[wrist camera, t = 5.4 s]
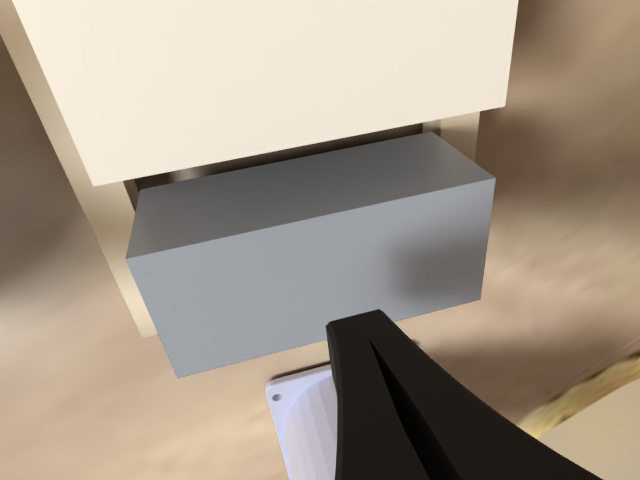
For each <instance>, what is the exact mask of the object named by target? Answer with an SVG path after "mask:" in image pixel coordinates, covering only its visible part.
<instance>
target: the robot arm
mask: <svg viewBox="0 0 640 480" xmlns="http://www.w3.org/2000/svg"><path fill="white" fill-rule="evenodd" d="M325 327H326V334H327V341H328V348H329V356H330V363H331V364H329V365H325V366H322V367H318V368H314V369H311V370H307V371H303V372H299V373H296V374H292V375H288V376H284V377H281V378H277V379H273V380H271V381H269V382H268V383H267V384H266V385H265V391H266V395H267V399H268V403H269V406H270V410H271V414H272V417H273V421H274V425H275V428H276V432H277V436H278V439H279V443H280V446H281V450H282V454H283V457H284V461H285V465H286V468H287V472H288V476H289V479H290V480H603V479H601V478H599V477H598V476H596V475H594V474H592V473H591V472H589V471H587V470H585V469H584V468H582V467H580V466H579V465H577V464H575V463H574V462H572V461H570V460H569V459H567V458H565V457H563V456H562V455H560V454H558V453H557V452H555V451H554V450H552V449H551V448H549V447H547V446H546V445H544V444H543V443H541V442H540V441H538V440H537V439H535V438H534V437H532V436H531V435H529V434H528V433H526V432H525V431H523V430H522V429H520V428H519V427H517V426H516V425H515V424H513V423H512V422H510V421H509V420H507V419H506V418H505V417H503V416H502V415H500V414H499V413H498V412H496V411H495V410H494V409H492V408H491V407H490V406H488V405H487V404H486V403H484V402H483V401H482V400H480V399H479V398H478V397H477V396H475V395H474V394H473V393H472V392H470V391H469V390H468V389H466V388H465V387H464V386H463V385H462V384H460V383H459V382H458V381H457V380H455V379H454V378H453V377H452V376H451V375H450V374H448V373H447V372H446V371H445V370H444V369H443V368H442V367H440V366H439V365H438V364H437V363H436V362H435V361H434V360H432V359H431V358H430V357H429V356H428V355H427V354H426V353H425V352H424V351H422V350H421V349H420V348H419V347H418V346H417V345H416V344H415V343H414V342H413V341H412V340H411V339H410V338H409V337H408V336H407V335H406V334H405V333H404V332H403V331H402V330H401V329H400V328H399V327H398V326H397V325H396V324H395V323H394V322H393V321H392V320H391V319H390V318H389V317H388V316H387V315H386V314H385V313H384V312H383V311H382V310H380V309H377V310H373V311H369V312H365V313H361V314H357V315H353V316H349V317H345V318H341V319H337V320H334V321H330V322H329V323H328V324H327V325H326V326H325ZM276 394H277V395H276Z"/></svg>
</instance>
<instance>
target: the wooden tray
mask: <svg viewBox="0 0 640 480" xmlns="http://www.w3.org/2000/svg"><path fill="white" fill-rule="evenodd" d="M0 35H1V37H2V39H3V41H4V43H5V45H6V47H7V50H8V52H9V54H10V56H11V58H12V60H13V62H14V64H15V67H16V69H17V71H18V73H19V75H20V77H21V79H22V82H23V84H24V86H25V88H26V90H27V92H28V94H29V96H30V99H31V101H32V103H33V105H34V107H35V109H36V111H37V114H38V116H39V118H40V120H41V122H42V124H43V126H44V129H45V131H46V133H47V135H48V137H49V139H50V141H51V143H52V146H53V148H54V150H55V152H56V154H57V156H58V158H59V161H60V163H61V165H62V167H63V169H64V171H65V173H66V175H67V178H68V180H69V182H70V184H71V186H72V188H73V190H74V193H75V195H76V197H77V199H78V201H79V203H80V205H81V208H82V210H83V212H84V214H85V216H86V218H87V220H88V222H89V225H90V227H91V229H92V231H93V233H94V235H95V237H96V240H97V242H98V244H99V246H100V248H101V250H102V252H103V254H104V257H105V259H106V261H107V263H108V265H109V267H110V269H111V272H112V274H113V276H114V278H115V280H116V282H117V284H118V287H119V289H120V291H121V293H122V295H123V297H124V299H125V301H126V304H127V306H128V308H129V310H130V312H131V314H132V316H133V319H134V321H135V323H136V325H137V327H138V329H139V331H140V333H141V336H142V338H144V337H148V336H152V335H156V334H158V333H157V331H156V328H155V326H154V324H153V321H152V319H151V317H150V315H149V312H148V310H147V308H146V305H145V303H144V301H143V299H142V296H141V294H140V292H139V290H138V287H137V285H136V283H135V280H134V278H133V276H132V274H131V271H130V269H129V267H128V264H127V262H126V260H125V258H126V253H127V249H128V244H129V240H130V235H131V230H132V226H133V221H134V217H135V212H136V207H137V203H138V198H139V191H138V188H137V186H136V183H135V180H134V179H130V180H125V181H119V182H114V183H109V184H104V185H99V186H94V187H93V184H92V182H91V180H90V178H89V175H88V173H87V171H86V168H85V166H84V164H83V162H82V159H81V157H80V155H79V152H78V150H77V148H76V146H75V143H74V141H73V139H72V136H71V134H70V132H69V130H68V127H67V125H66V123H65V120H64V118H63V116H62V114H61V111H60V109H59V107H58V104H57V102H56V100H55V98H54V95H53V93H52V91H51V88H50V86H49V84H48V82H47V79H46V77H45V75H44V72H43V70H42V68H41V66H40V63H39V61H38V59H37V56H36V54H35V52H34V50H33V47H32V45H31V43H30V40H29V38H28V36H27V34H26V31H25V29H24V27H23V24H22V22H21V20H20V18H19V15H18V13H17V11H16V8H15V6H14V4H13V2H12V0H0ZM479 116H480V111H479V112H473V113H468V114H463V115H458V116H453V117H448V118H443V119H438V120H432V121H427V122H423V133H427V132H433V133H434V134H436V135H437V136H439V137H440V138H441V139H443V140H444V141H446V142H447V143H448V144H450V145H451V146H452V147H454V148H455V149H457V150H458V151H459V152H461V153H462V154H464V155H465V156H466V157H468V158H469V159H470V160H472V161H473V162H475V157H476V147H477V137H478V126H479Z"/></svg>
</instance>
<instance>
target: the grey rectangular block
mask: <svg viewBox="0 0 640 480" xmlns="http://www.w3.org/2000/svg"><path fill="white" fill-rule="evenodd" d="M495 181H496V178H495V177H494V176H493V175H491V174H490V173H488V172H487V171H486V170H484V169H483V168H481V167H480V166H479V165H477V164H476V163H475V162H473V161H472V160H470V159H469V158H468V157H466V156H465V155H464V154H462V153H461V152H459V151H458V150H457V149H455V148H454V147H452V146H451V145H450V144H448V143H447V142H446V141H444V140H443V139H441V138H440V137H439V136H437V135H436V134H434V133H433V132H427V133H421V134H416V135H411V136H406V137H401V138H396V139H391V140H386V141H381V142H376V143H371V144H366V145H361V146H356V147H351V148H346V149H341V150H336V151H331V152H326V153H321V154H316V155H311V156H306V157H301V158H296V159H291V160H286V161H280V162H275V163H270V164H265V165H260V166H255V167H250V168H245V169H240V170H235V171H230V172H225V173H220V174H215V175H210V176H205V177H200V178H195V179H190V180H185V181H180V182H175V183H170V184H165V185H160V186H155V187H150V188H145V189H140V194H139V198H138V203H137V207H136V212H135V217H134V221H133V226H132V230H131V235H130V240H129V244H128V249H127V253H126V258H125V260H126V262H127V264H128V267H129V269H130V271H131V274H132V276H133V278H134V280H135V283H136V285H137V287H138V290H139V292H140V294H141V296H142V299H143V301H144V303H145V305H146V308H147V310H148V312H149V315H150V317H151V319H152V321H153V324H154V326H155V328H156V331H157V333H158V335H159V337H160V340H161V342H162V344H163V347H164V349H165V351H166V353H167V356H168V358H169V360H170V363H171V365H172V367H173V369H174V372H175V374H176V376H177V378H181V377H185V376H189V375H193V374H197V373H200V372H204V371H208V370H212V369H216V368H220V367H223V366H227V365H231V364H235V363H239V362H243V361H246V360H250V359H254V358H258V357H262V356H266V355H269V354H273V353H277V352H281V351H285V350H289V349H292V348H296V347H300V346H304V345H308V344H312V343H316V342H319V341H323V340H327V334H326V327H325V326H326V325H327V324H328V323H329V322H330V321H334V320H337V319H341V318H345V317H349V316H353V315H357V314H361V313H365V312H369V311H373V310H377V309H380V310H382V311H383V312H384V313H385V314H386V315H387V316H388V317H389V318H390V319H391V320H392V321H393V322H396V321H400V320H404V319H408V318H411V317H415V316H419V315H423V314H427V313H431V312H434V311H438V310H442V309H446V308H450V307H454V306H458V305H461V304H465V303H469V302H473V301H477V300H480V298H481V290H482V283H483V275H484V267H485V259H486V251H487V243H488V236H489V228H490V220H491V212H492V204H493V196H494V189H495Z"/></svg>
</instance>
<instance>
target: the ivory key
mask: <svg viewBox="0 0 640 480" xmlns="http://www.w3.org/2000/svg"><path fill="white" fill-rule="evenodd" d="M12 2H13V4H14V6H15V8H16V11H17V13H18V15H19V18H20V20H21V22H22V24H23V27H24V29H25V31H26V34H27V36H28V38H29V40H30V43H31V45H32V47H33V50H34V52H35V54H36V56H37V59H38V61H39V63H40V66H41V68H42V70H43V72H44V75H45V77H46V79H47V82H48V84H49V86H50V88H51V91H52V93H53V95H54V98H55V100H56V102H57V104H58V107H59V109H60V111H61V114H62V116H63V118H64V120H65V123H66V125H67V127H68V130H69V132H70V134H71V136H72V139H73V141H74V143H75V146H76V148H77V150H78V152H79V155H80V157H81V159H82V162H83V164H84V166H85V168H86V171H87V173H88V175H89V178H90V180H91V182H92V184H93V187H94V186H99V185H104V184H109V183H114V182H119V181H125V180H130V179H135V178H140V177H145V176H150V175H155V174H160V173H166V172H171V171H176V170H181V169H186V168H191V167H196V166H202V165H207V164H212V163H217V162H222V161H227V160H232V159H237V158H243V157H248V156H253V155H258V154H263V153H268V152H273V151H278V150H284V149H289V148H294V147H299V146H304V145H309V144H314V143H320V142H325V141H330V140H335V139H340V138H345V137H350V136H355V135H361V134H366V133H371V132H376V131H381V130H386V129H391V128H397V127H402V126H407V125H412V124H417V123H422V122H427V121H432V120H438V119H443V118H448V117H453V116H458V115H463V114H468V113H473V112H479V111H484V110H489V109H494V108H499V107H504V106H505V102H506V95H507V87H508V79H509V71H510V63H511V55H512V47H513V40H514V32H515V24H516V16H517V8H518V0H12Z"/></svg>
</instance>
